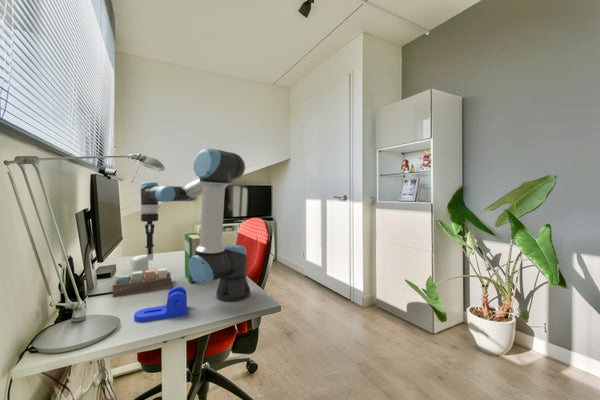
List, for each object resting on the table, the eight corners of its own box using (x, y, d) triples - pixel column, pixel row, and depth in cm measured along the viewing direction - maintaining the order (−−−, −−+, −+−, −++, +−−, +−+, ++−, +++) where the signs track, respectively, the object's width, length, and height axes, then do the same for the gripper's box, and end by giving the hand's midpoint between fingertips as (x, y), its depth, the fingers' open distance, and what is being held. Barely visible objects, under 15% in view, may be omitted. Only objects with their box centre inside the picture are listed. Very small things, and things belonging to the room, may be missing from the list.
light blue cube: (128, 285, 127) (128, 276, 127) (118, 286, 125) (118, 277, 125) (129, 282, 131) (129, 274, 131) (119, 283, 129) (119, 275, 129)
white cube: (167, 277, 135) (167, 269, 135) (158, 279, 133) (157, 271, 133) (167, 275, 139) (167, 267, 139) (158, 276, 137) (158, 269, 137)
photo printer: (136, 280, 144) (136, 258, 144) (129, 280, 144) (129, 257, 144) (149, 275, 154) (149, 253, 154) (143, 274, 155) (142, 253, 154)
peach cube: (155, 279, 132) (154, 271, 132) (145, 280, 130) (145, 272, 130) (155, 277, 136) (155, 269, 136) (145, 278, 134) (145, 270, 134)
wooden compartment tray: (171, 288, 132) (171, 278, 132) (112, 296, 121) (112, 285, 121) (170, 281, 143) (170, 271, 143) (116, 288, 132) (116, 278, 132)
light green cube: (142, 281, 130) (142, 272, 130) (132, 282, 128) (132, 274, 128) (142, 278, 134) (142, 270, 134) (132, 279, 132) (132, 271, 132)
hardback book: (204, 281, 143) (204, 236, 143) (189, 283, 139) (189, 237, 139) (198, 273, 158) (198, 232, 158) (184, 275, 154) (184, 233, 154)
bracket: (186, 307, 110) (186, 285, 110) (186, 315, 103) (186, 292, 102) (135, 315, 103) (135, 291, 103) (132, 324, 95) (132, 299, 95)
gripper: (158, 213, 129) (158, 262, 129) (158, 212, 140) (158, 256, 141) (140, 214, 125) (140, 264, 126) (141, 212, 137) (142, 258, 137)
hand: (150, 260), depth 133 cm, fingers closed
